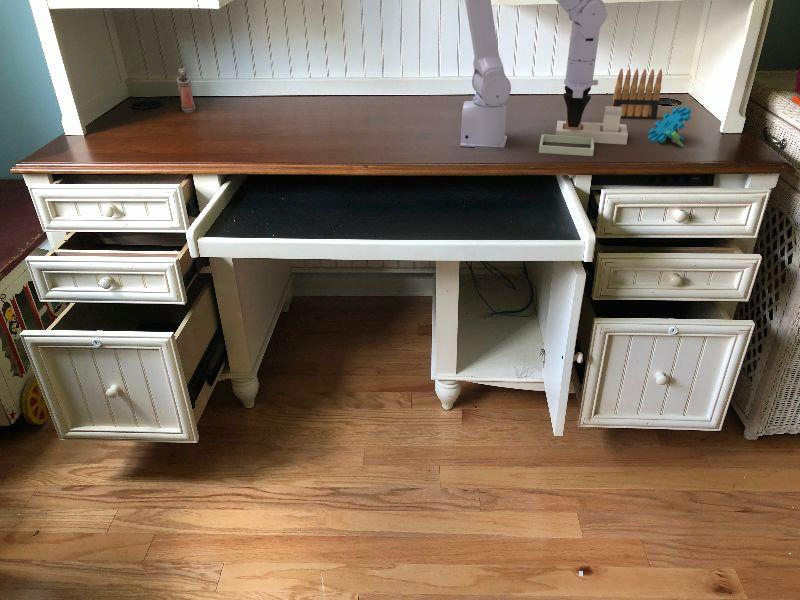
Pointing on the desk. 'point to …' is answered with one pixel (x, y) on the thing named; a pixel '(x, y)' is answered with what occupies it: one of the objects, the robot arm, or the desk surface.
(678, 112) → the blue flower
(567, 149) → the parts tray
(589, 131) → the block
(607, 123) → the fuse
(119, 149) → the desk surface
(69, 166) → the desk surface
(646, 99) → the ammunition clip
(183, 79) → the pink perfume bottle
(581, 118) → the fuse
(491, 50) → the robot arm
